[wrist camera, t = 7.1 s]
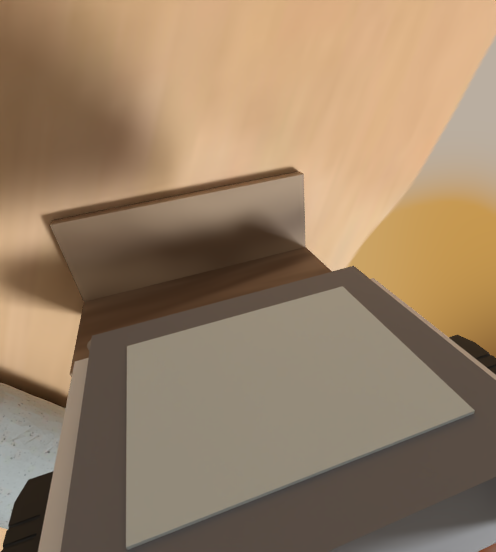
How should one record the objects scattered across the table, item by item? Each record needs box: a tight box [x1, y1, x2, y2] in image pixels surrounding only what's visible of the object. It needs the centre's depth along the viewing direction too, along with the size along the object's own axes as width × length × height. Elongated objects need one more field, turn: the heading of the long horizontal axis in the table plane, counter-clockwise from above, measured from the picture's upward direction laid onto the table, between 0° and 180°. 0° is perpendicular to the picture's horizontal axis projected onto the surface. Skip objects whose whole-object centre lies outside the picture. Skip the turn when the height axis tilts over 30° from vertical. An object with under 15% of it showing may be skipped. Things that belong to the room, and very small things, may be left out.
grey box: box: [61, 266, 496, 552], centre depth 10 cm, size 4×10×8 cm, turn 96°
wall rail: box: [50, 172, 332, 377], centre depth 21 cm, size 8×16×8 cm, turn 97°
